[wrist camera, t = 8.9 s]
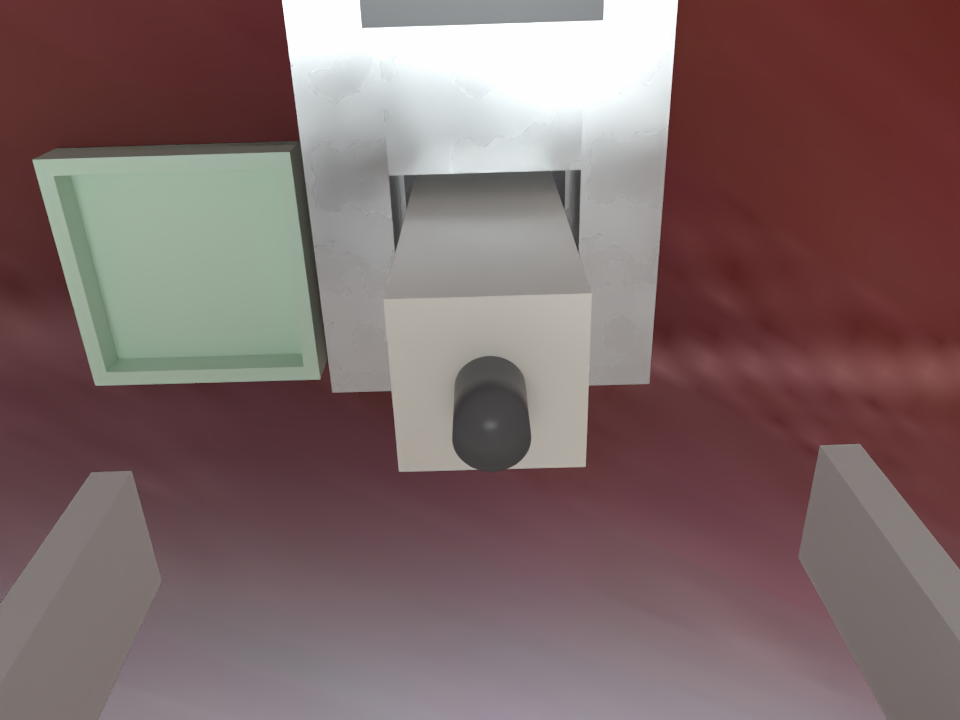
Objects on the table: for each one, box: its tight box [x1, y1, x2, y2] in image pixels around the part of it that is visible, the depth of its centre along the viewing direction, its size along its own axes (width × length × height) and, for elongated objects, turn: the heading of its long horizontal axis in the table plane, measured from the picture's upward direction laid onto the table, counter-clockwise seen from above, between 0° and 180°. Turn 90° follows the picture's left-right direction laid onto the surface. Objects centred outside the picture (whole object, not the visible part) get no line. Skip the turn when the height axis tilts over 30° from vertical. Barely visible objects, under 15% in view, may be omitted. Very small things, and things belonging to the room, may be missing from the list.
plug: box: [383, 171, 592, 472], centre depth 25 cm, size 5×5×14 cm
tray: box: [32, 141, 327, 386], centre depth 32 cm, size 9×9×2 cm
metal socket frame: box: [282, 0, 678, 393], centre depth 28 cm, size 12×21×4 cm, turn 2°
